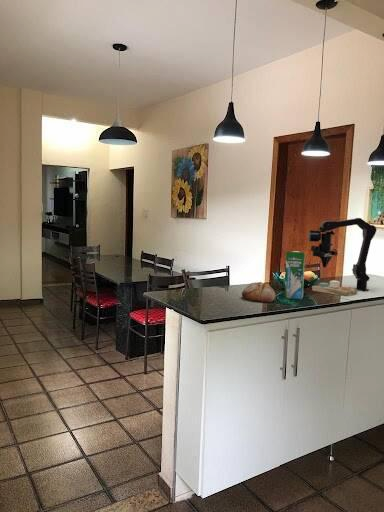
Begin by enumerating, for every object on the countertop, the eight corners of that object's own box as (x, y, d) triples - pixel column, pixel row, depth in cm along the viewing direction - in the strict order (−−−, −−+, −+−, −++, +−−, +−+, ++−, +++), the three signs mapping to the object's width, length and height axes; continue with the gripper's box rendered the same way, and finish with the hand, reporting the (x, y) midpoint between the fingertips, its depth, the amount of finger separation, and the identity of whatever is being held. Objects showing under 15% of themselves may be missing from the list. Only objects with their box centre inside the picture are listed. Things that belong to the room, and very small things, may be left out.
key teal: (322, 288, 246) (322, 282, 246) (328, 289, 243) (328, 283, 243) (318, 289, 244) (319, 283, 243) (324, 290, 241) (325, 284, 240)
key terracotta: (344, 291, 236) (344, 285, 236) (350, 293, 233) (351, 286, 233) (340, 292, 233) (340, 286, 233) (347, 293, 230) (347, 287, 230)
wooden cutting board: (322, 288, 251) (323, 284, 250) (357, 293, 234) (357, 289, 234) (311, 290, 243) (312, 286, 242) (346, 296, 226) (347, 291, 226)
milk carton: (303, 296, 223) (305, 250, 221) (301, 299, 215) (304, 252, 212) (286, 295, 226) (288, 250, 224) (284, 298, 218) (286, 251, 215)
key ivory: (333, 286, 241) (333, 280, 241) (339, 287, 238) (339, 281, 238) (329, 287, 238) (329, 280, 238) (335, 288, 235) (336, 281, 235)
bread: (259, 306, 201) (259, 286, 200) (235, 298, 218) (234, 280, 217) (283, 301, 210) (283, 282, 208) (258, 294, 227) (258, 276, 225)
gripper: (322, 240, 258) (321, 265, 260) (305, 241, 246) (304, 267, 248) (338, 241, 250) (337, 267, 252) (322, 242, 238) (320, 269, 239)
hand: (324, 267), depth 248 cm, fingers closed
